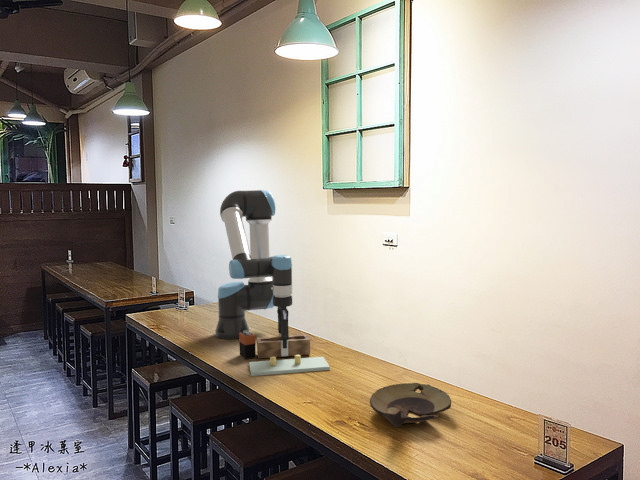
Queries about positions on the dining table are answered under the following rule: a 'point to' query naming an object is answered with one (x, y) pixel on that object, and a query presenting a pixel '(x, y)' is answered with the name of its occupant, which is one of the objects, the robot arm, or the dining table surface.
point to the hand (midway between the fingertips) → (283, 352)
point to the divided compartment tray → (273, 346)
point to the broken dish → (409, 402)
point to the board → (288, 365)
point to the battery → (247, 344)
